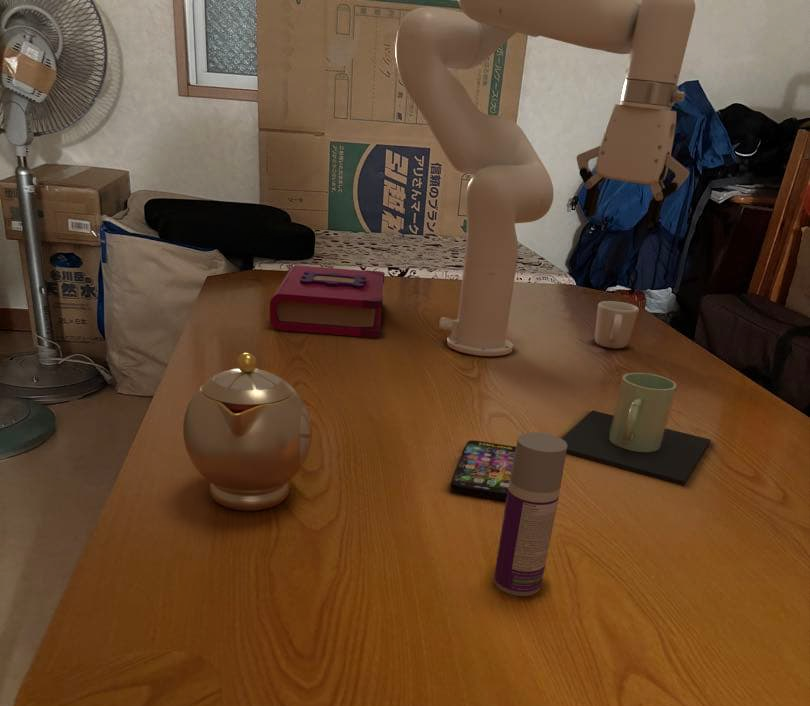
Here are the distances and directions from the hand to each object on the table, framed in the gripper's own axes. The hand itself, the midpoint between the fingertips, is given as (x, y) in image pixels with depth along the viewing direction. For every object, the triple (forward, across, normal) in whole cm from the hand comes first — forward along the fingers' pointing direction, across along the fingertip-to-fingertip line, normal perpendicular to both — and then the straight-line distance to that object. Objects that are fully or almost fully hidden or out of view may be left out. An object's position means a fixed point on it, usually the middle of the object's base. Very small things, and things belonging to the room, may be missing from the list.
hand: (618, 221), depth 121 cm
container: (+25, -18, +68) cm, 74 cm away
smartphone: (+26, -4, +46) cm, 53 cm away
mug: (+25, -16, +25) cm, 39 cm away
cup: (+27, +3, -26) cm, 37 cm away
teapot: (+26, +15, +68) cm, 75 cm away
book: (+28, +56, -2) cm, 62 cm away
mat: (+26, -16, +24) cm, 38 cm away
